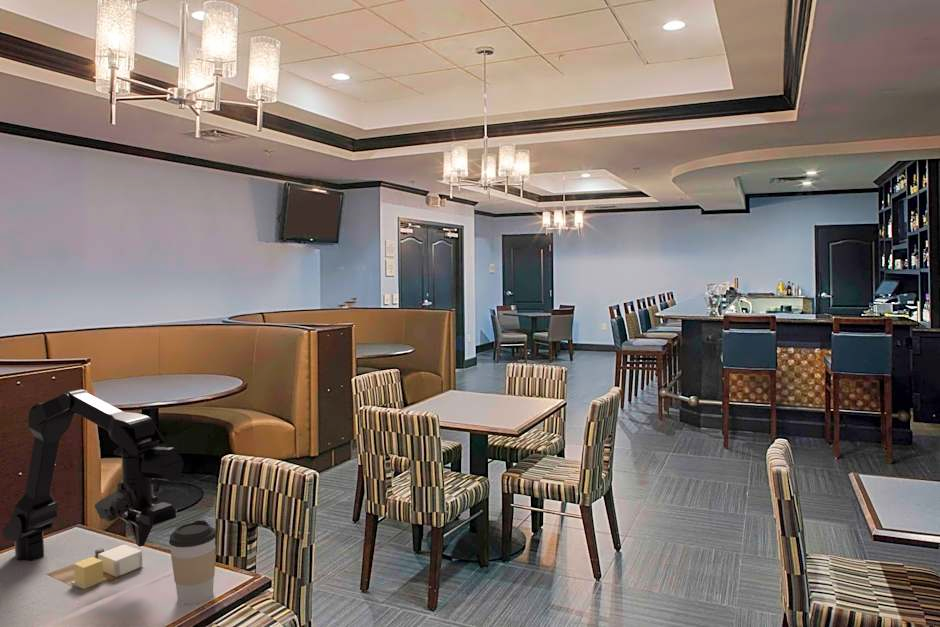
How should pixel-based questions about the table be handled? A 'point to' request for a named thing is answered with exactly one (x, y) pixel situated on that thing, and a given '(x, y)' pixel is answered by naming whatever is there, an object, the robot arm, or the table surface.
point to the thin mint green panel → (89, 584)
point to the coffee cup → (193, 561)
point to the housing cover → (121, 560)
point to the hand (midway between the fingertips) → (140, 545)
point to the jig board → (68, 577)
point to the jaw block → (88, 571)
